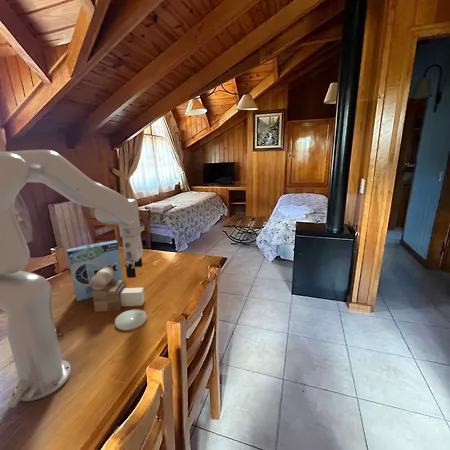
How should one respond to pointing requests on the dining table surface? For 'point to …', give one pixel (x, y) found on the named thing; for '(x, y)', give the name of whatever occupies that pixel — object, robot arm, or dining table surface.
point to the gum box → (92, 265)
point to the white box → (132, 296)
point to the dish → (130, 319)
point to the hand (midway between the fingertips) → (135, 271)
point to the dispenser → (106, 290)
